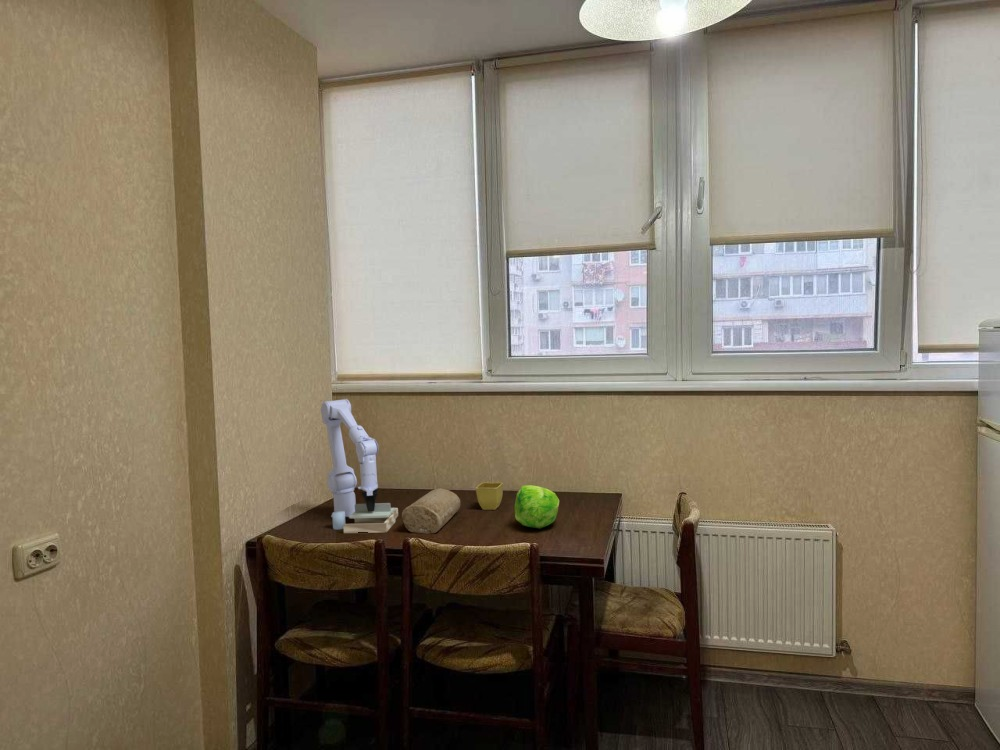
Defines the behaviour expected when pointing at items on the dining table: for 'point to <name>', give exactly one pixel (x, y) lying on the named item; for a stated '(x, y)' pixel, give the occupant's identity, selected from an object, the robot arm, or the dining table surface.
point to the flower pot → (489, 495)
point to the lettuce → (536, 506)
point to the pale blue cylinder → (338, 519)
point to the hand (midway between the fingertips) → (371, 511)
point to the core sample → (431, 511)
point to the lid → (379, 511)
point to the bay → (372, 524)
